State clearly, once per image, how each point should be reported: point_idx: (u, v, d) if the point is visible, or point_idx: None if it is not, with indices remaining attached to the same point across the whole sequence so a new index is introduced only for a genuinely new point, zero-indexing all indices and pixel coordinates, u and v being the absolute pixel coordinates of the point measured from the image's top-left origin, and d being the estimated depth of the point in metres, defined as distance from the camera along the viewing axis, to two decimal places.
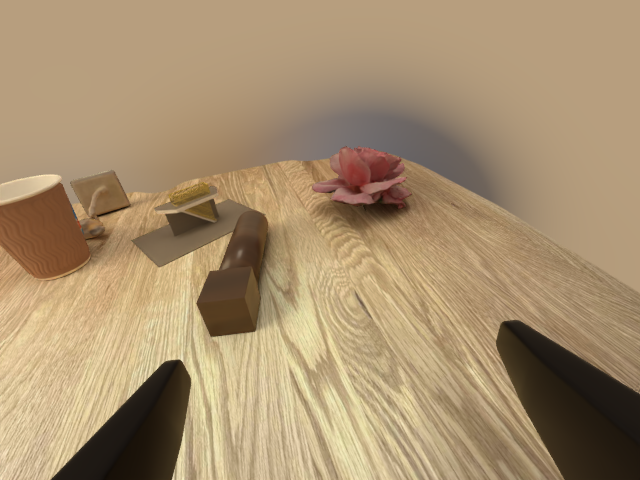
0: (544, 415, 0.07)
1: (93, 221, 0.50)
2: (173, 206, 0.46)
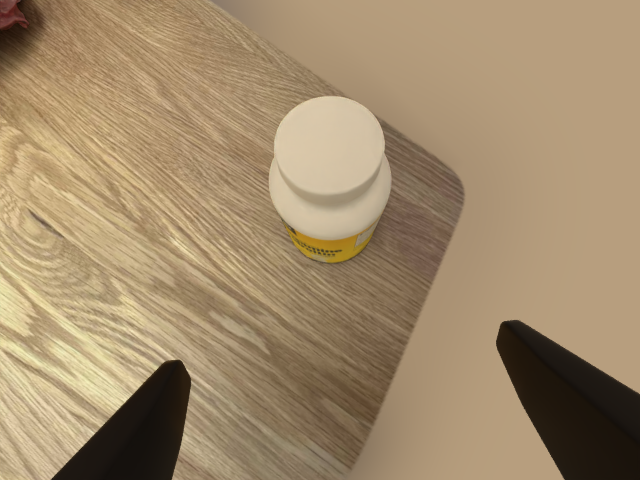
0: (544, 415, 0.07)
1: None
2: None
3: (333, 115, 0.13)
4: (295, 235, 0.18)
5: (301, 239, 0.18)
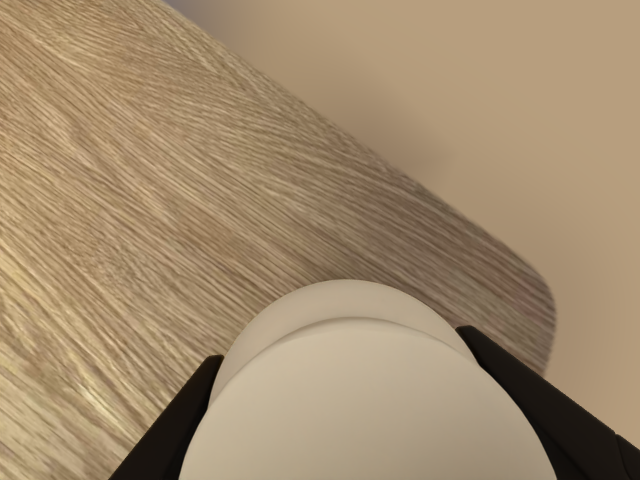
0: None
1: None
2: None
3: (377, 406, 0.04)
4: None
5: None
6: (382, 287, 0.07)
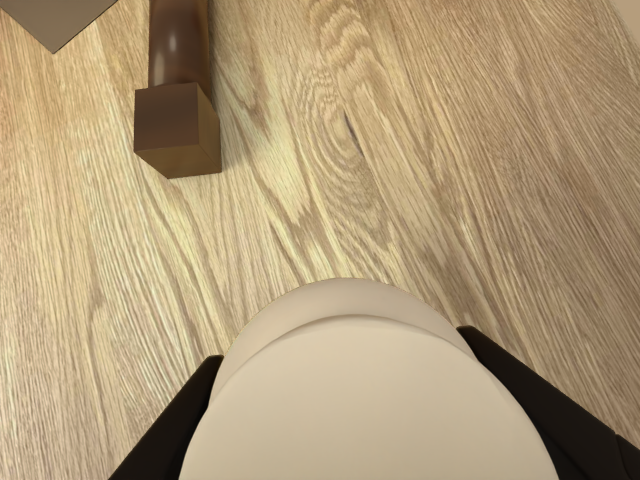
0: None
1: None
2: None
3: (378, 403, 0.04)
4: None
5: None
6: (382, 285, 0.07)
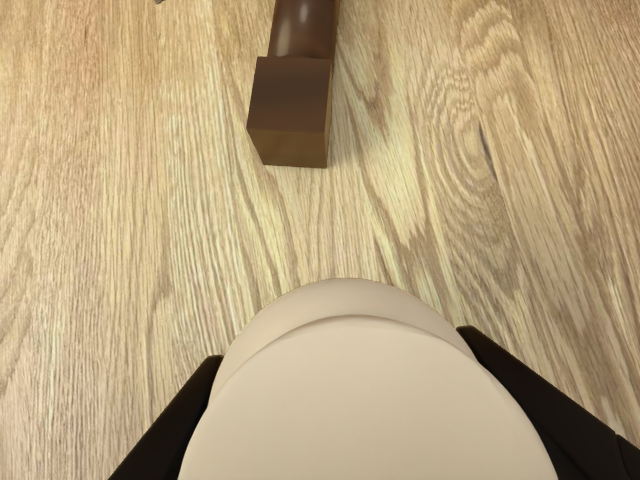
0: None
1: None
2: None
3: (377, 403, 0.04)
4: None
5: None
6: (382, 286, 0.07)
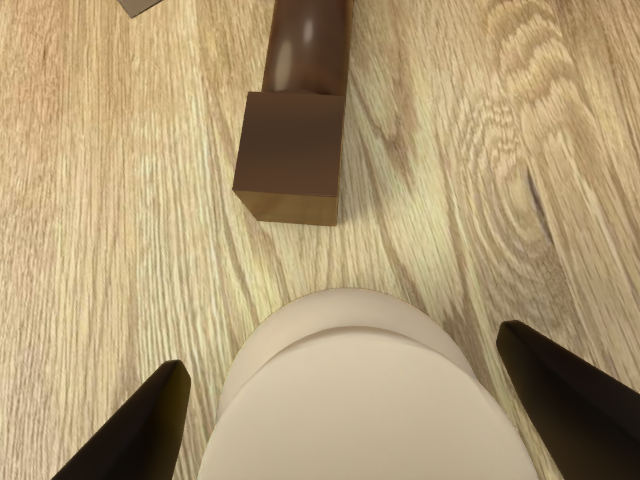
0: (544, 415, 0.07)
1: None
2: None
3: (376, 409, 0.04)
4: None
5: None
6: (381, 296, 0.08)
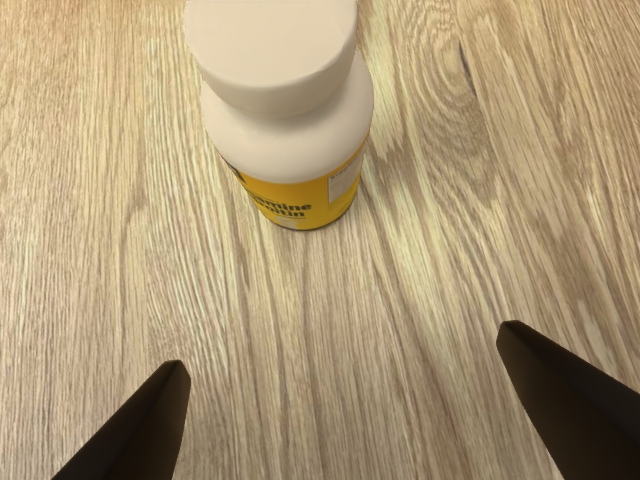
0: (544, 415, 0.07)
1: None
2: None
3: None
4: (245, 184, 0.13)
5: (253, 189, 0.13)
6: None
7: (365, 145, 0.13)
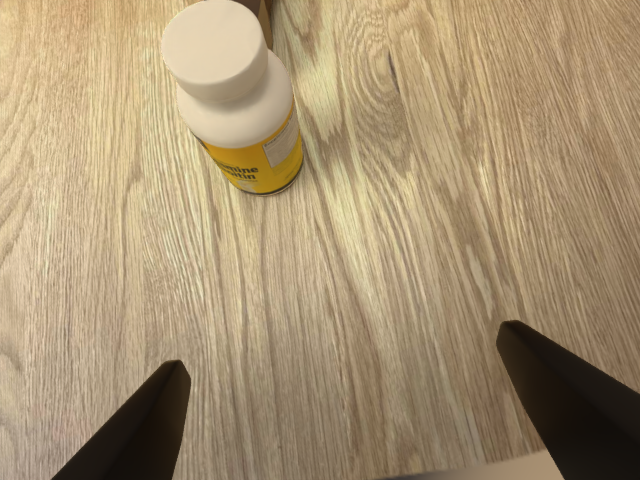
0: (544, 415, 0.07)
1: None
2: None
3: (217, 15, 0.14)
4: (209, 152, 0.19)
5: (215, 156, 0.19)
6: None
7: (291, 124, 0.18)
